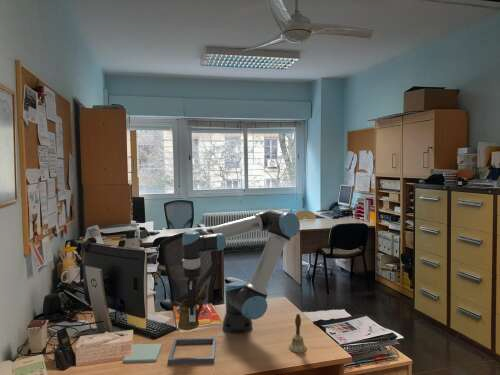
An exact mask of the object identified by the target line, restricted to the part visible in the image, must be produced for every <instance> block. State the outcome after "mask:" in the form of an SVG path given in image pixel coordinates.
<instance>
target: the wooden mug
mask: <svg viewBox="0 0 500 375" xmlns="http://www.w3.org/2000/svg"><path fill="white" fill-rule="evenodd" d="M207 288H208V284H205V285H203V286H202V287H201V289H200V291H199V292H198V293H197V298H196V299H195V317H196V321H195V322H189V308H187V306H188V298H187V299H183V300H180V305H179V317H178V318H179V319H178V325H177V328H178V329H179V330H181V331H193V330H195V329H197V328H198V327H199V325H200V321H199V316H200V314H201V312H202V309H203V307H204V302H203V300H202V297H203V296H204V295H205V293H206V291H207ZM196 304H197V306H196ZM196 307H197V310H196Z"/></svg>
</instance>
